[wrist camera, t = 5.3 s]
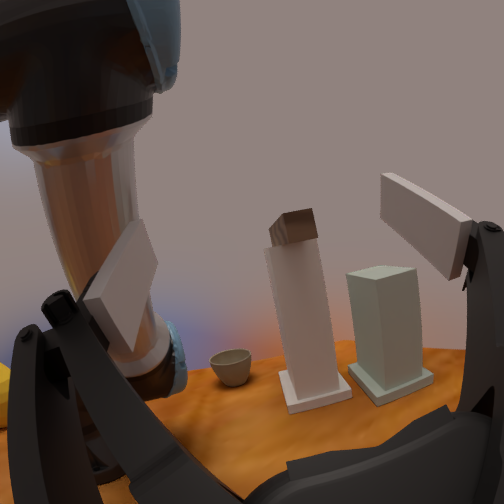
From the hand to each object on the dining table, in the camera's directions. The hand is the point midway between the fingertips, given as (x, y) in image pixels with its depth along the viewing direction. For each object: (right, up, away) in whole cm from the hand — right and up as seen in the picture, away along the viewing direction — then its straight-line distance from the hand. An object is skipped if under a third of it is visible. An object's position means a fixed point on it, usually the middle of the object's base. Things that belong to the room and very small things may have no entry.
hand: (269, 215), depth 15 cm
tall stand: (+11, -30, +38) cm, 50 cm away
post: (+26, -27, +33) cm, 50 cm away
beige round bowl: (-5, -33, +49) cm, 60 cm away
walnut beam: (+6, 0, +34) cm, 35 cm away
